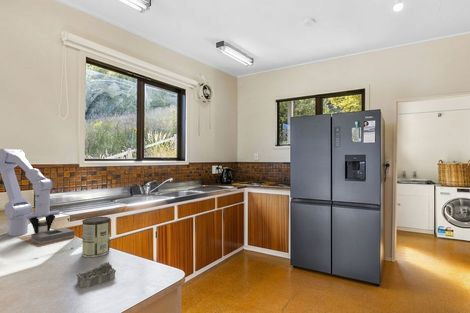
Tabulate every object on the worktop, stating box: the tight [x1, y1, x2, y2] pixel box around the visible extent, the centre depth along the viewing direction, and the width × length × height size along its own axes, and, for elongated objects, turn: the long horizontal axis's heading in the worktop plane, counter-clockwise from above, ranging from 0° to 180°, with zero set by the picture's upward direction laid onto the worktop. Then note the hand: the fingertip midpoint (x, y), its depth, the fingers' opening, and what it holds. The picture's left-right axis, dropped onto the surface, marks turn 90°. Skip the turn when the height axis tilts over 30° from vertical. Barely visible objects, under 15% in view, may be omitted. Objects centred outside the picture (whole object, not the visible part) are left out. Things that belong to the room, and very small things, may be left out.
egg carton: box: [75, 262, 117, 289], centre depth 87 cm, size 11×8×4 cm
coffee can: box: [81, 216, 111, 258], centre depth 111 cm, size 10×10×14 cm
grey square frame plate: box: [30, 227, 75, 244], centre depth 127 cm, size 14×10×3 cm
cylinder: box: [38, 221, 48, 233], centre depth 131 cm, size 4×4×6 cm
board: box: [16, 234, 80, 248], centre depth 128 cm, size 24×17×1 cm
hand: (42, 231), depth 131 cm, fingers closed on cylinder, 4 cm apart
